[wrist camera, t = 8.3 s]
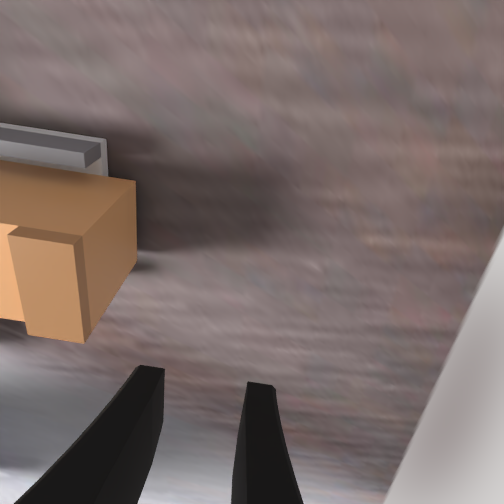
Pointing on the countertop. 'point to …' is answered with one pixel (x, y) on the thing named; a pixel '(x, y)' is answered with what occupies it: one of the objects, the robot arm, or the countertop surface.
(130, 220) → the orange stepped block
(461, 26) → the countertop surface
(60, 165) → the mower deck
